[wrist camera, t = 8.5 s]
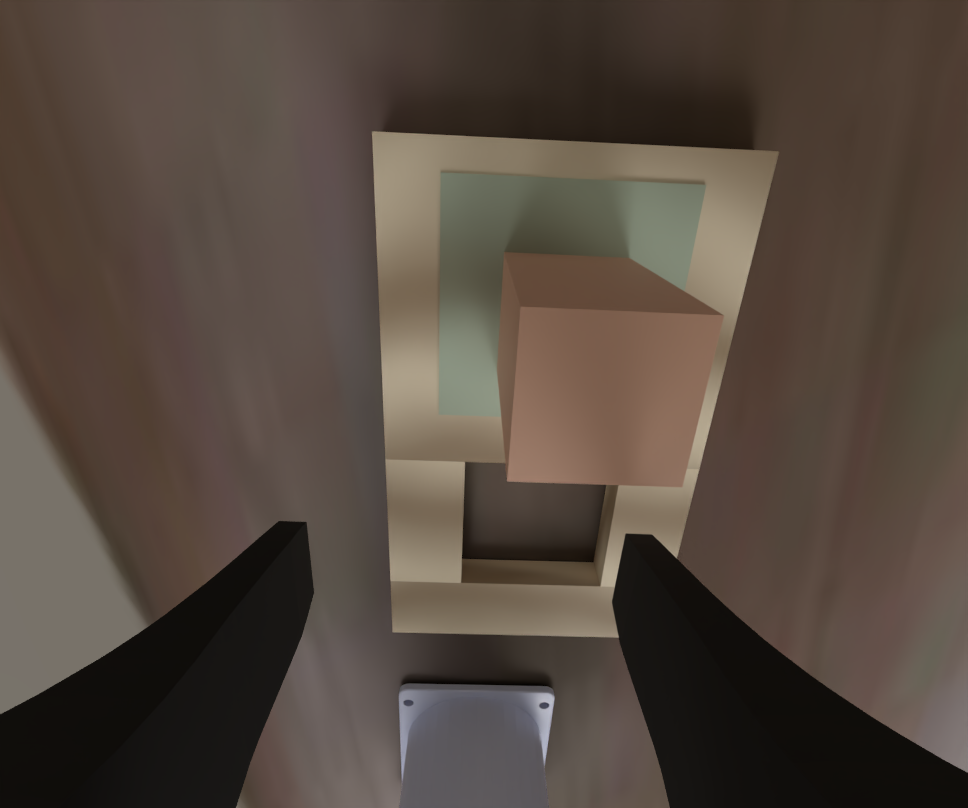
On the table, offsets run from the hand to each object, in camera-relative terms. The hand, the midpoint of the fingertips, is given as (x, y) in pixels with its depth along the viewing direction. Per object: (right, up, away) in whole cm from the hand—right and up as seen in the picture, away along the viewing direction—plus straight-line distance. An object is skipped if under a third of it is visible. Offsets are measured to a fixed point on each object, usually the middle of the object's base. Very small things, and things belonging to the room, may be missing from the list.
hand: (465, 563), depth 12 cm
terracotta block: (+3, +7, +5) cm, 9 cm away
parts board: (+3, +3, +9) cm, 10 cm away
